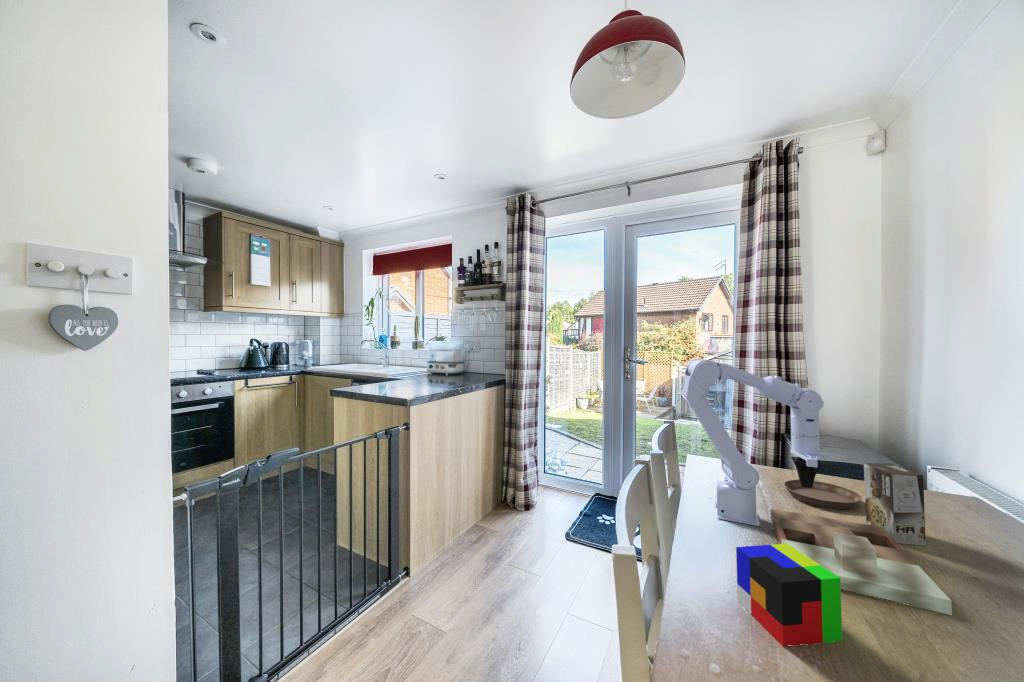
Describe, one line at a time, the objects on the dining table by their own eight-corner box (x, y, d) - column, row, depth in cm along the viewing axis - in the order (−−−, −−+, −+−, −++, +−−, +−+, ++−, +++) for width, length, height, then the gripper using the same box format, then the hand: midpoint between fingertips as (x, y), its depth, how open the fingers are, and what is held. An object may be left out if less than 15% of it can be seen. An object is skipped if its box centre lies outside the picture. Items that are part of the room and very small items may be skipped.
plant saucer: (783, 484, 120) (783, 474, 120) (855, 496, 110) (855, 486, 110) (785, 503, 106) (784, 492, 106) (868, 519, 96) (868, 507, 96)
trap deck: (791, 577, 72) (791, 565, 72) (770, 518, 97) (770, 508, 97) (951, 615, 62) (951, 600, 62) (882, 537, 86) (882, 527, 86)
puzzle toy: (737, 602, 66) (736, 547, 66) (788, 597, 67) (786, 543, 67) (783, 647, 56) (781, 582, 56) (842, 641, 57) (840, 578, 57)
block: (842, 569, 71) (841, 543, 71) (834, 555, 75) (833, 531, 75) (877, 576, 68) (876, 549, 68) (866, 562, 73) (866, 537, 73)
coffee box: (927, 546, 82) (925, 475, 83) (894, 543, 84) (892, 474, 84) (894, 526, 91) (892, 462, 91) (864, 524, 93) (862, 461, 93)
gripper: (833, 443, 86) (834, 500, 86) (817, 430, 99) (818, 479, 98) (796, 439, 89) (797, 494, 89) (785, 427, 102) (786, 475, 102)
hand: (806, 486), depth 94 cm, fingers closed
